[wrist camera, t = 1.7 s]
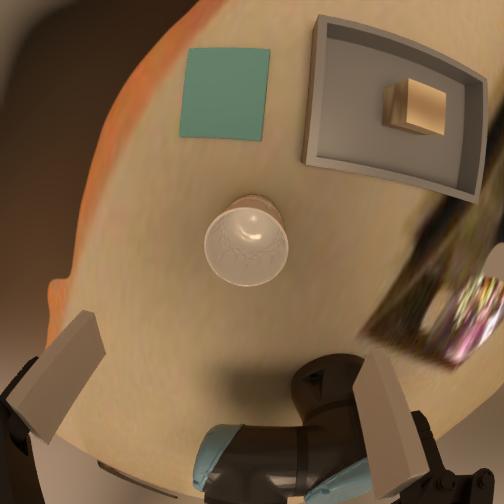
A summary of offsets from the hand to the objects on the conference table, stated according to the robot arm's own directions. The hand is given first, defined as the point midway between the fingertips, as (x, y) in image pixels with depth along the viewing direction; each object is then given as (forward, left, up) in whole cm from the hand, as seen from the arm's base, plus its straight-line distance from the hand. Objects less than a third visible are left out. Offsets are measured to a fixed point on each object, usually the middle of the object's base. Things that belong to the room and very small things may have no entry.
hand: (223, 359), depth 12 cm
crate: (+16, -17, -25) cm, 34 cm away
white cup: (-1, 0, -25) cm, 25 cm away
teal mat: (+15, +5, -25) cm, 30 cm away
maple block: (+16, -17, -24) cm, 34 cm away
